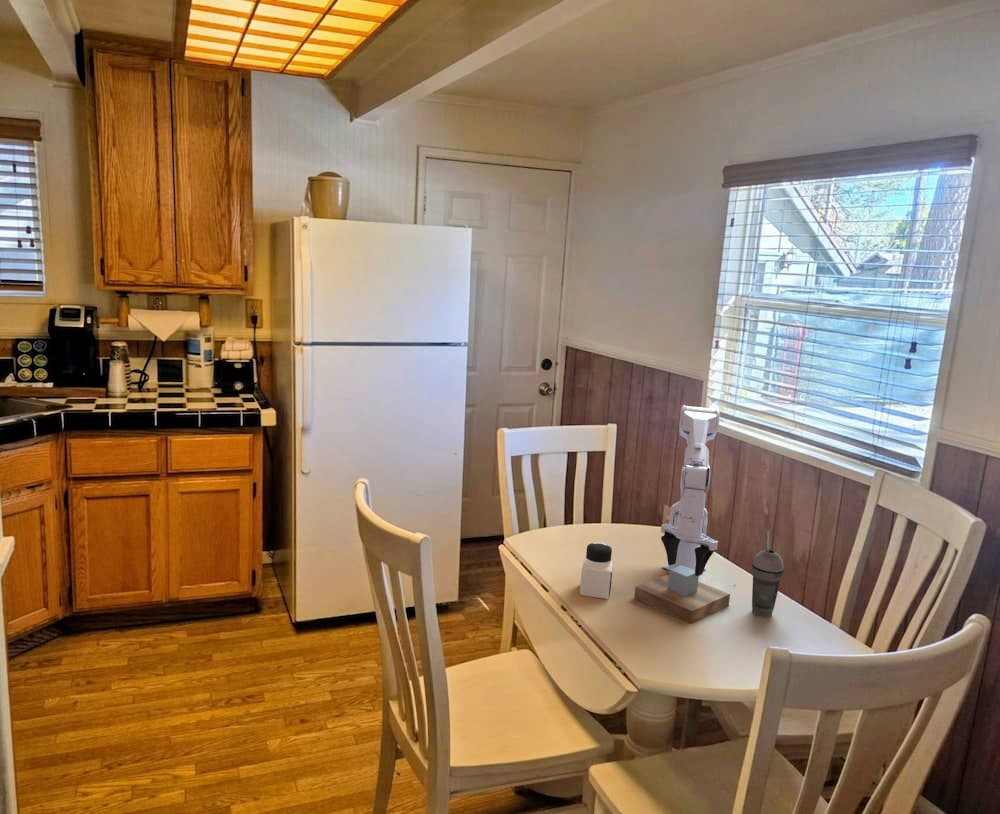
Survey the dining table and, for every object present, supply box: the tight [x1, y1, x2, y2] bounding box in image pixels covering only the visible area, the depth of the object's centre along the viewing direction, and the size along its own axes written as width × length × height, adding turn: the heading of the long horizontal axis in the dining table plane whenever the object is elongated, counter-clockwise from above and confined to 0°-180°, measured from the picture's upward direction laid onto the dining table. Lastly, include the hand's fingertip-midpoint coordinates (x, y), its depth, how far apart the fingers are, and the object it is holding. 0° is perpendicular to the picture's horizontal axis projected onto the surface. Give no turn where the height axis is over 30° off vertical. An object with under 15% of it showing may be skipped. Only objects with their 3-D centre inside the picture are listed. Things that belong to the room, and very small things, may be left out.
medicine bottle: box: [579, 541, 614, 600], centre depth 185 cm, size 7×7×12 cm
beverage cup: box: [751, 530, 785, 619], centre depth 178 cm, size 7×7×20 cm
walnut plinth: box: [634, 573, 731, 624], centre depth 183 cm, size 16×16×3 cm
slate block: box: [667, 565, 700, 596], centre depth 182 cm, size 5×5×5 cm
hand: (685, 569), depth 182 cm, fingers open, 7 cm apart
